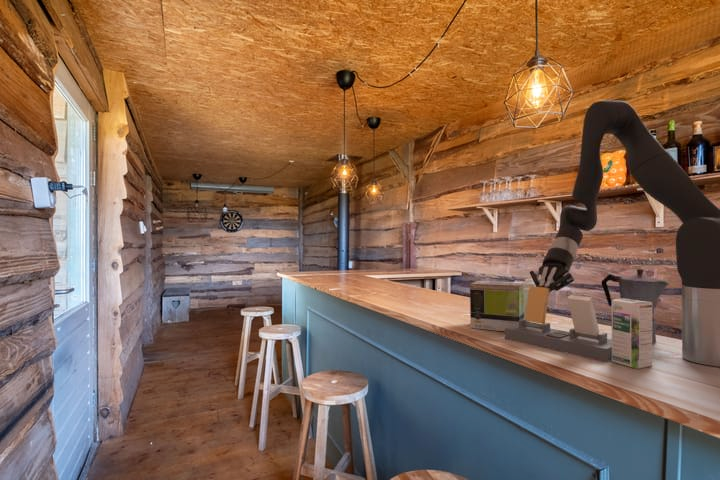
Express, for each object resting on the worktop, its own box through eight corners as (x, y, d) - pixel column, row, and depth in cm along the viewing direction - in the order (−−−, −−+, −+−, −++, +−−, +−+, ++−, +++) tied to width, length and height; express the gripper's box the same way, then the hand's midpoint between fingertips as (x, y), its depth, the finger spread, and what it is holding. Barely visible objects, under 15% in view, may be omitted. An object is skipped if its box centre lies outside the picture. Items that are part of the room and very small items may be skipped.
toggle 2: (601, 337, 93) (592, 297, 90) (598, 341, 92) (589, 300, 89) (578, 333, 97) (569, 295, 94) (576, 337, 96) (566, 298, 93)
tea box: (525, 327, 121) (524, 282, 121) (519, 334, 112) (519, 285, 112) (477, 322, 129) (477, 279, 129) (469, 328, 120) (469, 282, 120)
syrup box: (610, 361, 87) (609, 299, 87) (627, 358, 89) (627, 297, 89) (636, 369, 81) (635, 303, 81) (654, 366, 83) (653, 301, 83)
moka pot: (670, 348, 96) (670, 271, 96) (600, 339, 106) (599, 268, 106) (668, 340, 104) (668, 268, 104) (603, 332, 113) (602, 266, 113)
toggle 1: (544, 329, 104) (549, 288, 106) (541, 329, 103) (547, 287, 105) (526, 326, 108) (532, 287, 110) (523, 325, 107) (529, 286, 109)
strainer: (541, 324, 125) (541, 279, 125) (525, 326, 122) (525, 280, 122) (524, 320, 131) (523, 277, 131) (509, 322, 128) (508, 278, 128)
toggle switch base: (623, 353, 92) (623, 332, 92) (606, 361, 86) (606, 339, 86) (523, 333, 113) (523, 316, 113) (504, 338, 107) (504, 320, 107)
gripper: (535, 246, 119) (513, 288, 112) (579, 246, 108) (558, 293, 101) (544, 262, 122) (523, 304, 115) (587, 264, 111) (568, 310, 104)
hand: (540, 299), depth 108 cm, fingers closed
